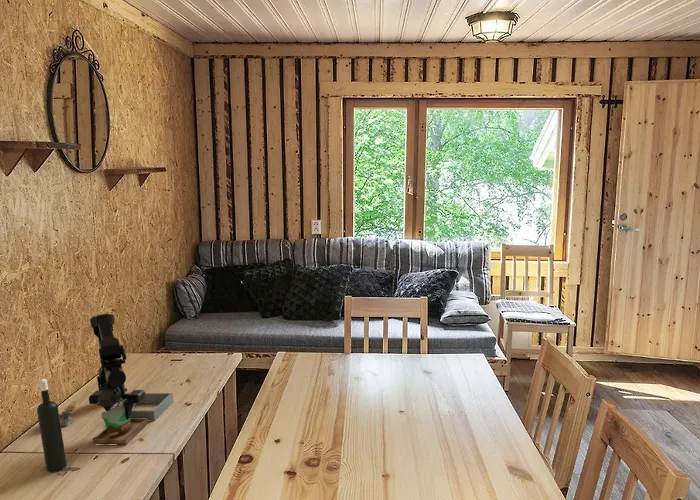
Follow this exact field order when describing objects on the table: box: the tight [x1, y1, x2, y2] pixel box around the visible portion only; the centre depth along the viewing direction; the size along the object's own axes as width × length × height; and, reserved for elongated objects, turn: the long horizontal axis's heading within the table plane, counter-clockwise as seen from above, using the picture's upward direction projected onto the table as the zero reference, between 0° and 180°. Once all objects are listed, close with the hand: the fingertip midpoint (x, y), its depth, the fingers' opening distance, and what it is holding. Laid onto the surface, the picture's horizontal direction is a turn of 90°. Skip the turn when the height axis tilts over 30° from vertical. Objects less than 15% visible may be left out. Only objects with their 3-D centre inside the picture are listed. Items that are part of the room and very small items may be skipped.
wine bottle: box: [36, 378, 67, 473], centre depth 178 cm, size 6×6×30 cm
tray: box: [92, 418, 150, 446], centre depth 201 cm, size 12×16×2 cm
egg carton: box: [59, 409, 73, 428], centre depth 211 cm, size 11×8×4 cm
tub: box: [130, 392, 174, 422], centre depth 218 cm, size 15×16×4 cm
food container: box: [101, 399, 131, 438], centre depth 200 cm, size 12×6×10 cm, turn 173°
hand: (120, 419), depth 200 cm, fingers closed on food container, 5 cm apart
